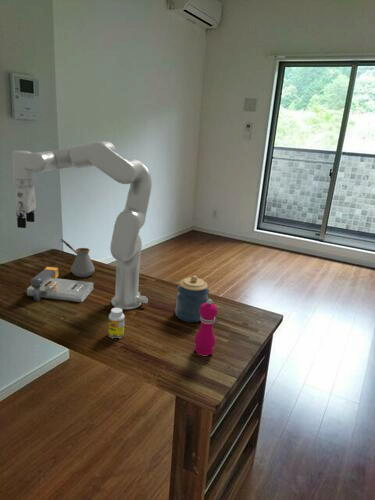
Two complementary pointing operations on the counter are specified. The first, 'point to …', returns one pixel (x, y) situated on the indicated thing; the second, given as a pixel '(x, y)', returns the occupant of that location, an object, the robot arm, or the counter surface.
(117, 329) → the supplement bottle
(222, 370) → the counter surface
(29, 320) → the counter surface
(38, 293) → the pivot post
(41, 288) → the panel
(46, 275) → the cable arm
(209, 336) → the pepper mill
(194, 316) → the canister
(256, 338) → the counter surface
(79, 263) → the coffee pot
